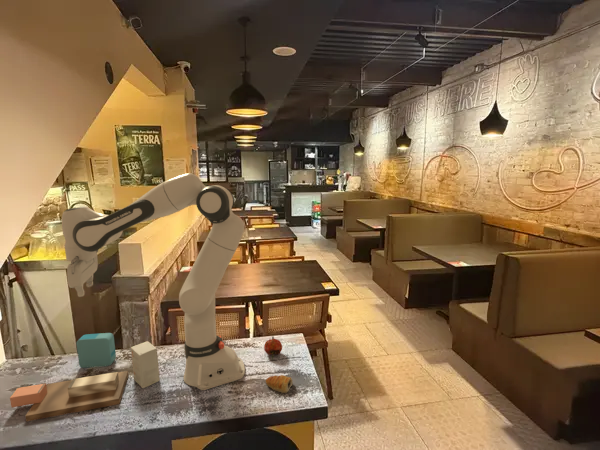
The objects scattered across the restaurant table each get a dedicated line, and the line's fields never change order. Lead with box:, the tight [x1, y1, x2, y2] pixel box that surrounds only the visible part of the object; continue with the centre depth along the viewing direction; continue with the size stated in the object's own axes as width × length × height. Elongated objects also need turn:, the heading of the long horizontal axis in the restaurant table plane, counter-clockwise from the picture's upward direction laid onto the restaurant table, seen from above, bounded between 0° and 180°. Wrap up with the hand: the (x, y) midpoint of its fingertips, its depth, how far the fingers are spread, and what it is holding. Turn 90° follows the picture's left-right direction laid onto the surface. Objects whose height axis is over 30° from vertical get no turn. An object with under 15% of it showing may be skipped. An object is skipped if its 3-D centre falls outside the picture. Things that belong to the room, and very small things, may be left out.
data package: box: [75, 332, 117, 369], centre depth 133 cm, size 12×4×12 cm, turn 97°
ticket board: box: [24, 370, 129, 422], centre depth 115 cm, size 26×16×6 cm, turn 107°
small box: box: [130, 340, 161, 389], centre depth 123 cm, size 8×6×13 cm
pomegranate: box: [263, 335, 283, 361], centre depth 139 cm, size 7×7×10 cm
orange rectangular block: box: [9, 382, 48, 408], centre depth 110 cm, size 8×5×4 cm, turn 107°
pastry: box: [265, 374, 293, 394], centre depth 120 cm, size 9×7×4 cm
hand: (85, 291), depth 119 cm, fingers open, 8 cm apart
